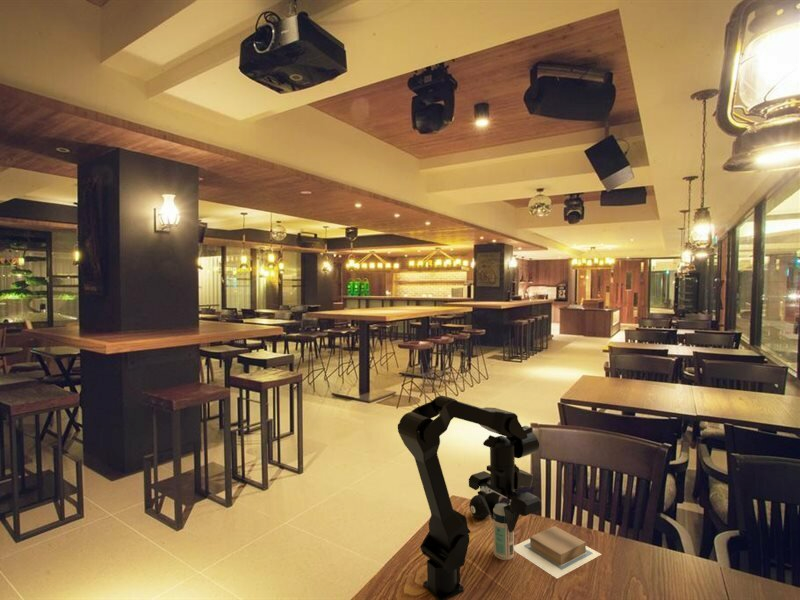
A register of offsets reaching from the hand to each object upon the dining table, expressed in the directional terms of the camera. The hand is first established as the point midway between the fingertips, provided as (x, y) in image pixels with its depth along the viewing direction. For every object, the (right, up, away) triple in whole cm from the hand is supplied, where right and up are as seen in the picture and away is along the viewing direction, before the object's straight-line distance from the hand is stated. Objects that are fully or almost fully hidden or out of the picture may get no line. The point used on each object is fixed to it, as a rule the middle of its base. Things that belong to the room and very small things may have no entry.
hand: (503, 526), depth 106 cm
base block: (+14, -6, +1) cm, 15 cm away
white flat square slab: (+13, -7, +1) cm, 14 cm away
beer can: (0, -7, 0) cm, 7 cm away
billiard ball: (-2, -7, +19) cm, 20 cm away
